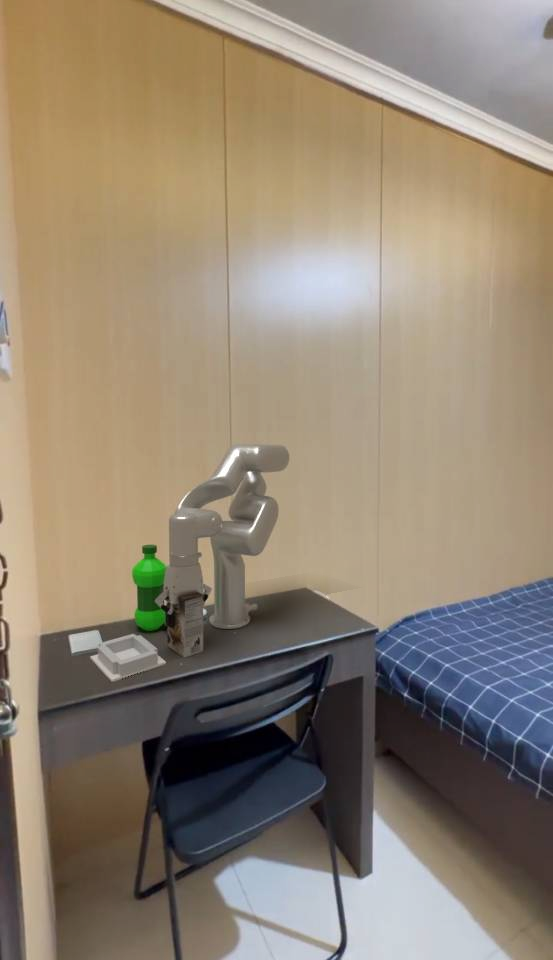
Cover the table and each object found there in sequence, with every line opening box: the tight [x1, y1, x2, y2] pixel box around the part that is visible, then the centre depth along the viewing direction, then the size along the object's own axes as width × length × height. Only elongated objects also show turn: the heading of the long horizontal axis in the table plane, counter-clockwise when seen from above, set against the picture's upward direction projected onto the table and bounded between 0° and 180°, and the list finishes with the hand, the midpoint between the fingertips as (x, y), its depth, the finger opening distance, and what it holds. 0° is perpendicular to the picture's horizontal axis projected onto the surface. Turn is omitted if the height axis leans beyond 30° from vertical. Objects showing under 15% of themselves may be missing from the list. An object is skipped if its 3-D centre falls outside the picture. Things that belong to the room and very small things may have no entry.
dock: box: [89, 633, 167, 683], centre depth 125 cm, size 14×15×4 cm
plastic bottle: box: [131, 544, 167, 632], centre depth 145 cm, size 10×10×25 cm
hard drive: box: [67, 629, 103, 657], centre depth 135 cm, size 2×8×12 cm
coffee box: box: [166, 592, 204, 658], centre depth 131 cm, size 9×6×16 cm
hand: (184, 622), depth 131 cm, fingers open, 7 cm apart
